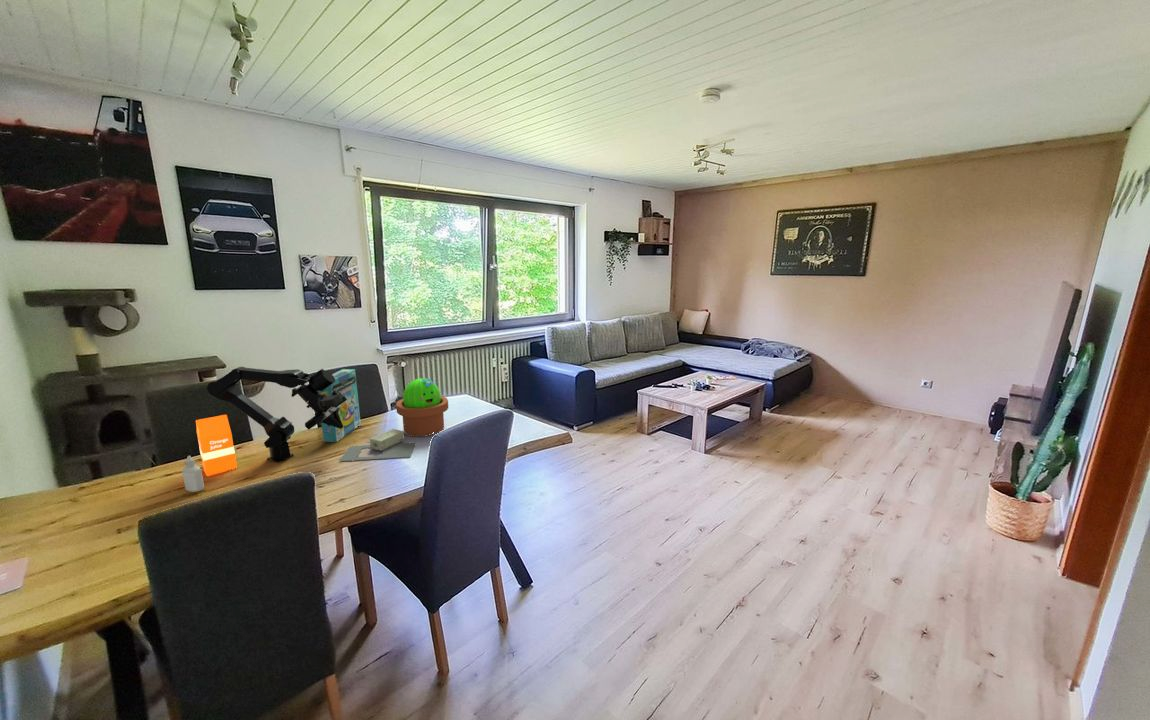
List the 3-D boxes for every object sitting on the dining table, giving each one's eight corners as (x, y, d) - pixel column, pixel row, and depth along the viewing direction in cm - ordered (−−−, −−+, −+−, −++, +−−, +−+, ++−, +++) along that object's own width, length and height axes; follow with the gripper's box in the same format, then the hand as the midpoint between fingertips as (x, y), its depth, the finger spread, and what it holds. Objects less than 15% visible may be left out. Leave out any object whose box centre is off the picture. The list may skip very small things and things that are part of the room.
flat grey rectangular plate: (338, 462, 166) (338, 461, 165) (350, 447, 179) (350, 446, 179) (410, 457, 170) (410, 456, 170) (416, 443, 184) (416, 442, 184)
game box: (337, 442, 183) (330, 380, 178) (322, 442, 183) (315, 380, 178) (361, 425, 203) (356, 369, 197) (348, 424, 203) (342, 368, 198)
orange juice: (237, 468, 159) (229, 416, 155) (206, 476, 153) (196, 423, 149) (233, 461, 164) (224, 411, 160) (203, 469, 158) (193, 417, 154)
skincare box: (381, 451, 175) (404, 440, 185) (380, 441, 174) (403, 431, 184) (369, 448, 177) (393, 438, 188) (369, 438, 176) (393, 428, 187)
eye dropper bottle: (188, 495, 141) (181, 460, 138) (185, 489, 144) (178, 455, 142) (205, 490, 144) (199, 456, 141) (202, 484, 148) (195, 451, 145)
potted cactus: (391, 428, 199) (386, 376, 194) (436, 418, 214) (433, 369, 209) (410, 443, 184) (406, 386, 178) (457, 430, 198) (455, 378, 193)
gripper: (310, 399, 154) (341, 431, 158) (341, 377, 171) (368, 406, 175) (291, 414, 158) (322, 444, 162) (323, 390, 175) (350, 419, 179)
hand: (342, 427), depth 169 cm, fingers closed
